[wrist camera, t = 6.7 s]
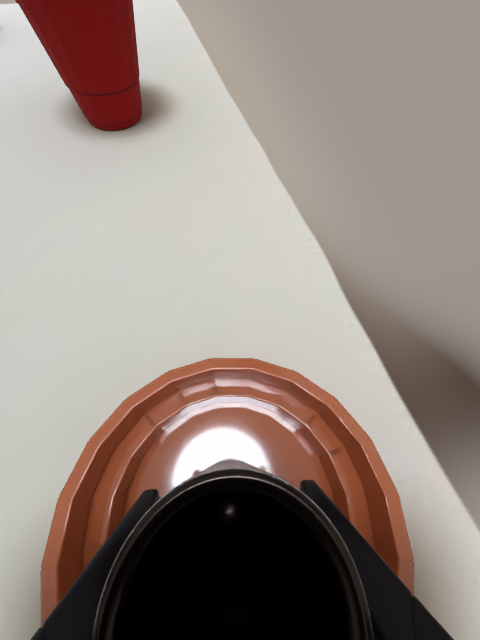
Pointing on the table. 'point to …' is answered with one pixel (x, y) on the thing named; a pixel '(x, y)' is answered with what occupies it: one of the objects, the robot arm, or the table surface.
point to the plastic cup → (92, 55)
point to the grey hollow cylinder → (233, 566)
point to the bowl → (221, 458)
